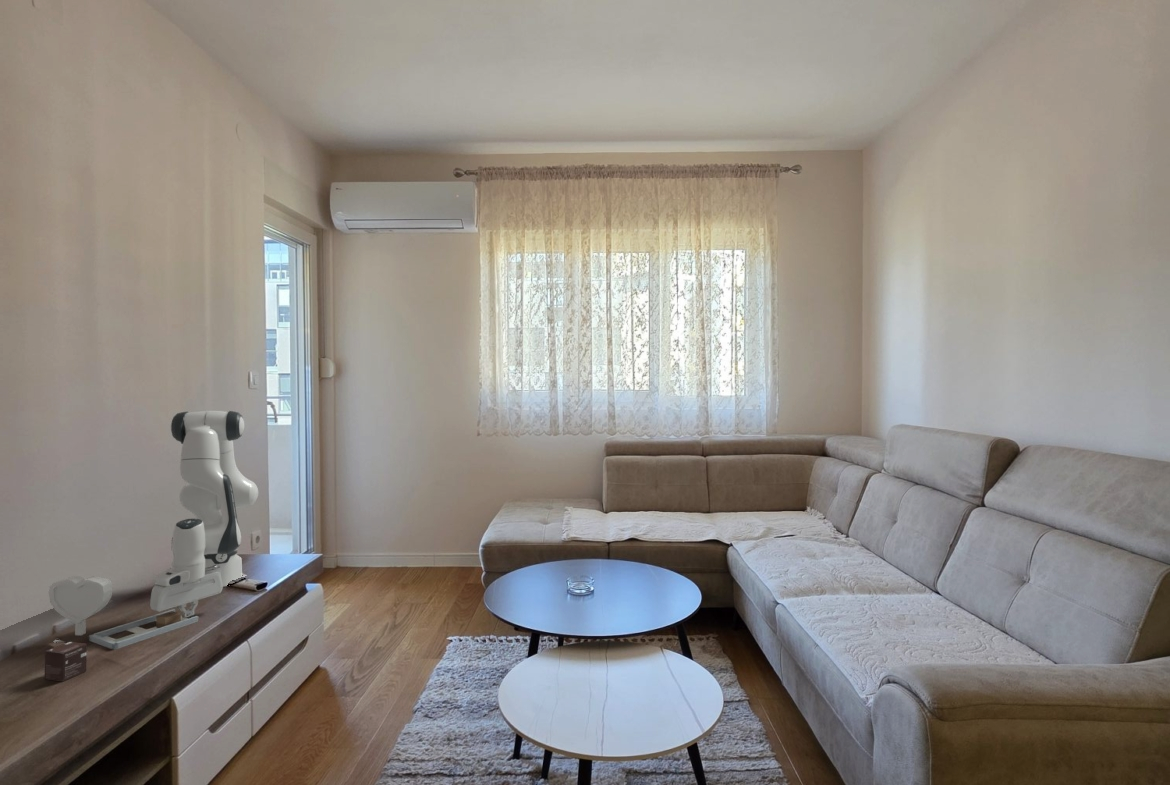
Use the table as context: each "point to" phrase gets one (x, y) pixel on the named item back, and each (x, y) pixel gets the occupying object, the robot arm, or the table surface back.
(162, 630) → the track
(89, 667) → the table surface
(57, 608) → the heart sculpture
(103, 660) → the table surface
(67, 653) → the box
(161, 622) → the walnut block
